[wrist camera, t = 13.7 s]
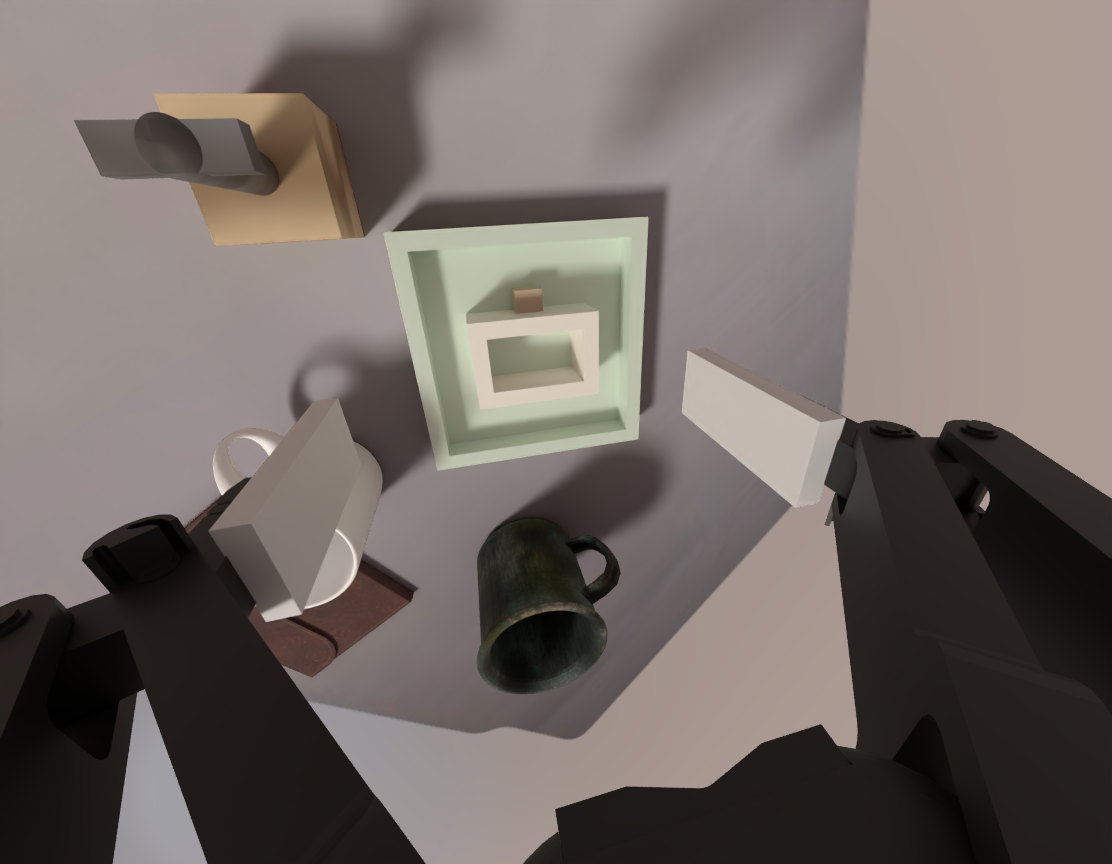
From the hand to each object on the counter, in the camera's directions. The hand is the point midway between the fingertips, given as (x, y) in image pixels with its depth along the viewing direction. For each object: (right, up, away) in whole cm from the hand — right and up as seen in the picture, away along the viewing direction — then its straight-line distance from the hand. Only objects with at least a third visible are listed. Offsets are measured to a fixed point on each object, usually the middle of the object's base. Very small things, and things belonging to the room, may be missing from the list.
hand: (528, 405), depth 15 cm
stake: (-16, +15, +11) cm, 24 cm away
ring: (-1, +6, +18) cm, 19 cm away
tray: (-1, +6, +18) cm, 19 cm away
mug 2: (-1, -13, +28) cm, 31 cm away
